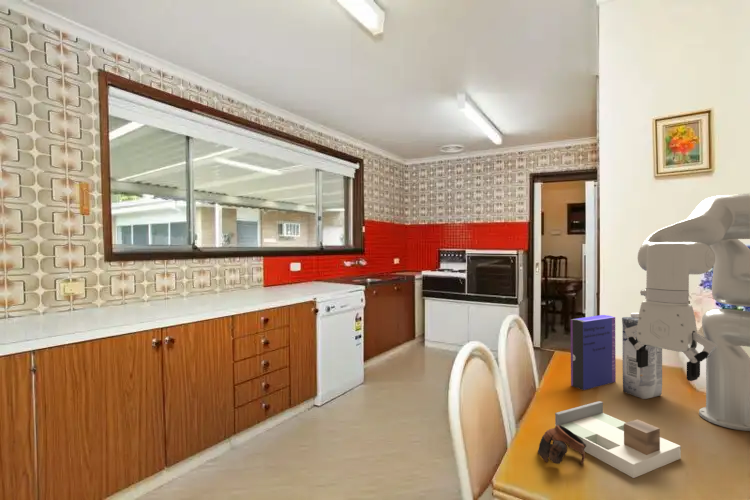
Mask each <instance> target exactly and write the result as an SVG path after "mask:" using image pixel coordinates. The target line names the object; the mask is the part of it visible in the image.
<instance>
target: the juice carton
mask: <svg viewBox="0 0 750 500" xmlns="http://www.w3.org/2000/svg"><path fill="white" fill-rule="evenodd" d="M638 317H639V312H631V313H630V316H623V317H622V318H621V323H622V324H621V325H622V391H623V392H624V393H626V394H628V395H631V396H634V397H637V398H640V399H642V400H647V399H651V398H655V397H659V396H661V395H662V391H663V349H662V348H658V347H653V346H647V347H646V349H647V350H648V366H646V367H642V368H639V367H638V366H637V362H636V350H635V349H634V346H633V345H632V344H631V343H630V341H629V340H628V337H627V335H626V333H625V329H626V328H630V327H633V326H636V325H637V324H638ZM634 334H635V337H637V331H636V332H635V333H634Z"/></svg>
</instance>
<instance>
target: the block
mask: <svg viewBox="0 0 750 500" xmlns="http://www.w3.org/2000/svg"><path fill="white" fill-rule="evenodd" d="M660 437H661V428H660V427H657V426H655V425H652V424H651V423H650V424H649V423H647V422H645V421H643V420H640V419H633V420H631V421H628V422H626V423H624V445H626V446H628V447H631V448H633V449H635V450H637V451H639V452H641V453H643V454H645V455H648V454H651V453H653V452H656V451H658V450H660Z"/></svg>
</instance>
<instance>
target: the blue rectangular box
mask: <svg viewBox="0 0 750 500" xmlns="http://www.w3.org/2000/svg"><path fill="white" fill-rule="evenodd" d="M616 367H617V365H616V317H615V316H611V315H608V314H607V315H605V314H600V315H592V316H586V317H579V318H572V319H571V318H570V386H571V387H573V388H575V389H579V390H582V391H586V390H587V391H588V390H591V389H594V388H598V387H602V386H606V385H609V384H613V383H616V381H617V380H616V378H617V377H616V372H617V371H616Z"/></svg>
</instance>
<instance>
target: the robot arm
mask: <svg viewBox="0 0 750 500" xmlns="http://www.w3.org/2000/svg"><path fill="white" fill-rule="evenodd" d="M741 240H750V192H746V193H735V194H724V195H722V194H721V195H716V196H715V195H714V196H711V197H707V198H705V199H704V200H702V201H701V202H700V203H699V204H698V205H697V206H696V207H695V209H693V211H692V212H691V214H690V215H689V216H688V217H687V218H686V219H684V220H680V221H679V222H676V223H674V224H670V225H668V226H665V227H662V228H660V229H657V230H656V231H654V232H653V233H651V234H650V235H649V236H648V237H647V238H646V239H645V240H644V241H643V243H642V244H641V246H640V248H639V250H638V253H637V263H638V265H639V266H640V268H641V269H642V270H644V271H646V287H645V289H641V290H640V296H644V297H645V299H646V300H642V301H641V303H640V304H641V305H640V307H639V312H638V313H639V317H638V324H637V325H636V326H633V327H630V328H626V329H625V333H626V335H627V337H628V340H629V341H630V343H631V344H632V345H633V346H634V349H635V350H636V362H637V366H638V367H639V368H642V367H646V366H648V350H647V349H646V347H647V346H653V347H658V348H662V350H663V349H664V350H667V351H668V350H669V351H671V352H672V351H673V352H678V353H679V352H680V353H683V354H684V355H685V356H686V358H688V359H687V360H689V361H686V380H687V381H688V382H689V381H690V382H693V381H697V380H698V379H699V378H700V376H701V362H703V361H704V360H705V406H704V407H702V408H700V409H699V410H698V415H699V416H700V417H701V418H702V419H704V420H705V421H708V422H709V423H712V424H714V425H716V426H720V427H724V428H728V429H732V430H737V431H745V432H748V431H749V432H750V356H749V354H748V353H747V352H746V351H745V350H744V348H743V347H748V348H750V311H748V310H747V311H746V310H739V309H728V308H714V309H710V310H708V311H705V313H703V315H702V317H701V328H702V332H703V335H700V334H699V333H698V331H697V330H698V329H697V322H696V316H695V312H694V311H695V310H694V308H693V305H691V304H689V302H690V299H689V298H690V297H689V296H690V295H689V293H690V285H689V284H690V281H689V280H690V275H703V274H706V273H708V272H710V270H712V282H711V295H712V298H713V300H714V301H716V302H718V303H719V304H723V305H729V306H730V305H731V306H739V307H746V308H747V307H749V308H750V248H749V247H748V246H747V245H746V244H745V243H744V242H742V241H741ZM712 268H713V269H712ZM636 331H637V337H635V334H634V333H635V332H636ZM698 344H700V345H702V346H703V349H702V350H701V351H700V352H699V351H698V350H697V346H698Z"/></svg>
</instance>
